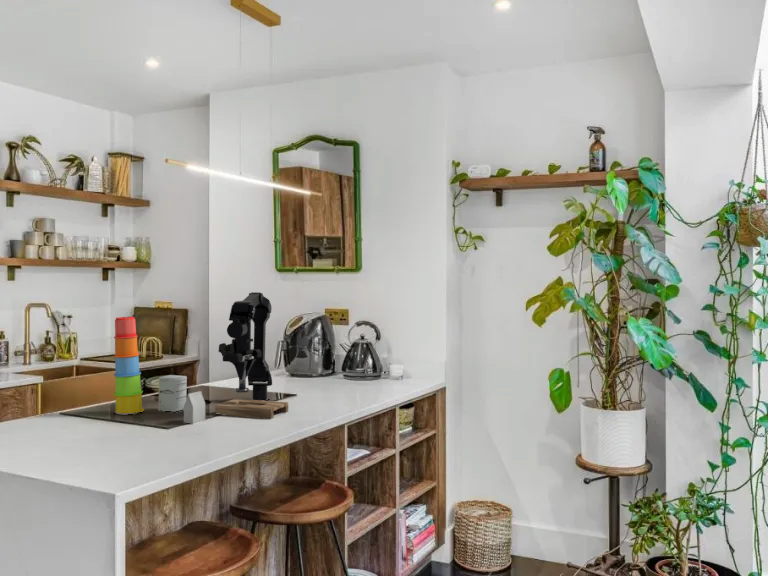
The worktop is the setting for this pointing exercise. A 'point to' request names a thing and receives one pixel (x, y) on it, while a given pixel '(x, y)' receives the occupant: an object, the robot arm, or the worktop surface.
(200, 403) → the grey gabled carton
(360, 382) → the worktop surface
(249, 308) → the robot arm
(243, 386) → the tee peg
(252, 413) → the keyhole board
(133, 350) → the stacking cups
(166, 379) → the supplement box
